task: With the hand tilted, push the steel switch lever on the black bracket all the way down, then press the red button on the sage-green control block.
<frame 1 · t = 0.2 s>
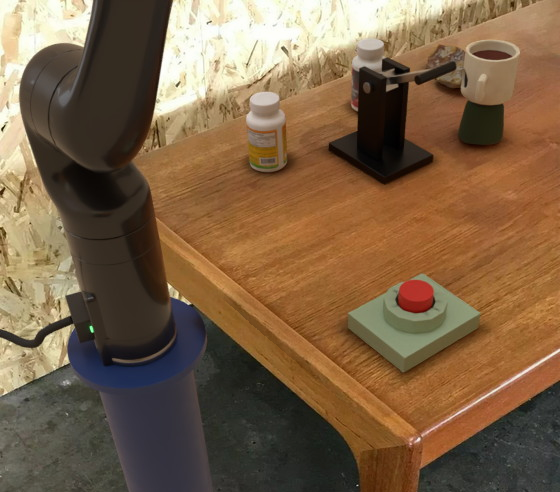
switch bracket: (379, 156, 112), on the table
pill bottle: (368, 107, 123), on the table
start button: (415, 296, 84), point 4 cm above the table, slide at 0.1 cm
supplement bottle: (268, 164, 112), on the table
switch lever: (406, 77, 101), point 13 cm above the table, hinge at 25.0°
button block: (412, 328, 87), on the table
character mug: (479, 140, 115), on the table
decorative stone: (457, 80, 128), on the table
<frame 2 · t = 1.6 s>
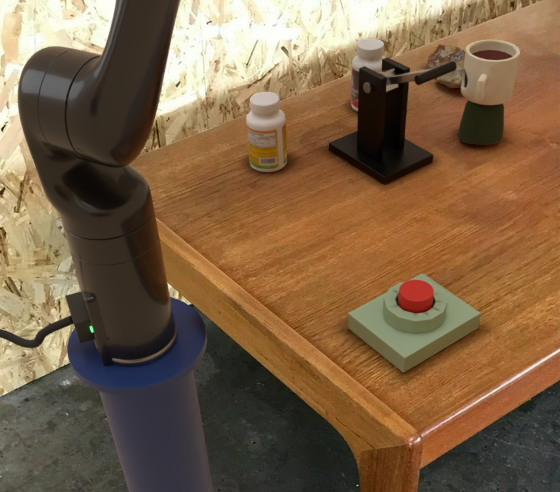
nothing on the table moved.
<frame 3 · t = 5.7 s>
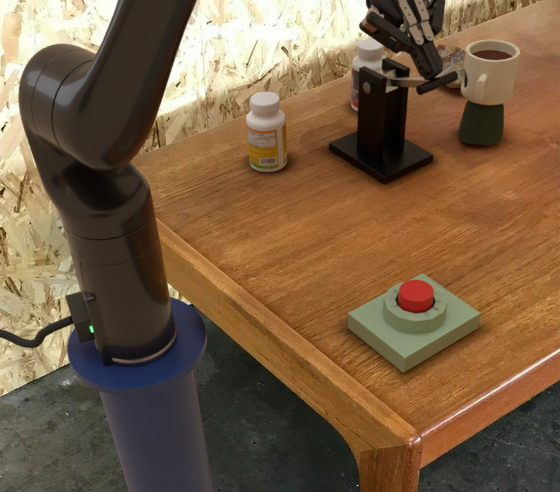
hand: (434, 75, 97), 15 cm above the table, tool tilted 45°, fingers closed
switch lever: (407, 82, 101), point 12 cm above the table, hinge at 18.1°, touching gripper
everything else where it was.
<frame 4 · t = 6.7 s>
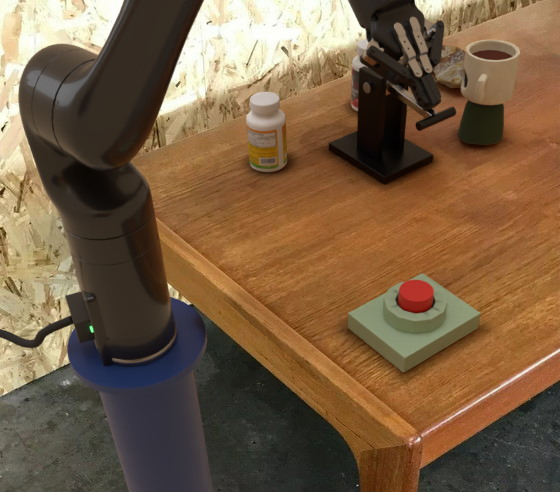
hand: (433, 106, 99), 11 cm above the table, tool tilted 45°, fingers closed
switch lever: (407, 98, 102), point 10 cm above the table, hinge at -8.2°, touching gripper
everything else where it was.
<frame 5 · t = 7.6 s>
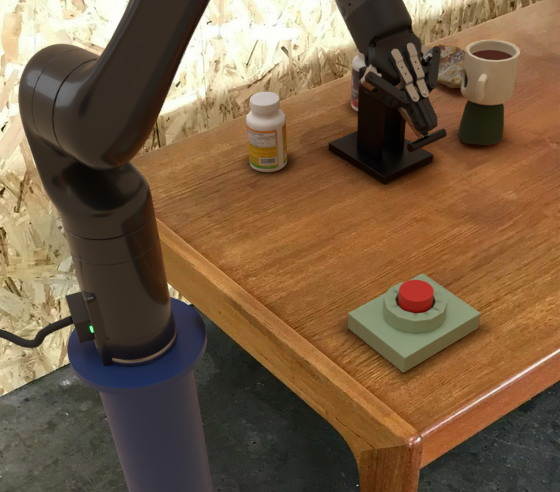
hand: (429, 130, 102), 8 cm above the table, tool tilted 45°, fingers closed
switch lever: (403, 108, 104), point 9 cm above the table, hinge at -29.2°, touching gripper
everything else where it was.
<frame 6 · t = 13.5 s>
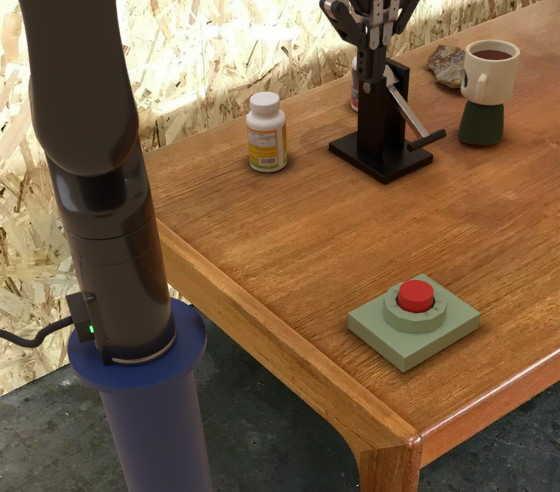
hand: (370, 80, 83), 21 cm above the table, tool pointing down, fingers closed
switch lever: (403, 108, 104), point 9 cm above the table, hinge at -29.5°
everything else where it was.
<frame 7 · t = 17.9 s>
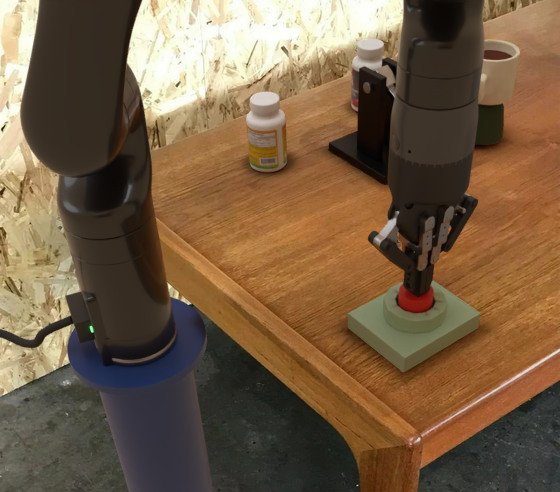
hand: (417, 290, 83), 5 cm above the table, tool pointing down, fingers closed
start button: (415, 296, 84), point 4 cm above the table, slide at 0.0 cm, touching gripper
everything else where it was.
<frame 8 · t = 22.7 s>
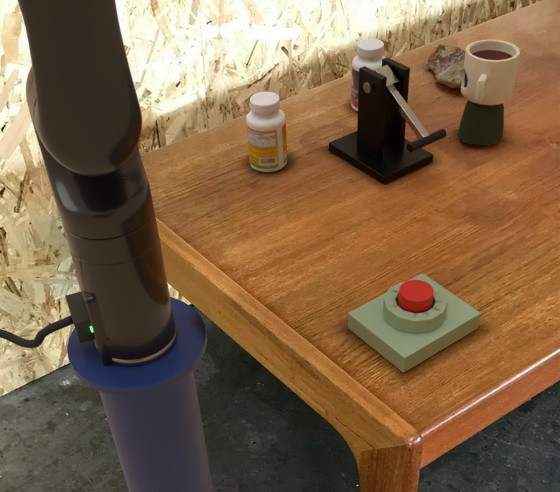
start button: (415, 296, 84), point 4 cm above the table, slide at 0.1 cm
everything else where it was.
at the end: switch lever at -30° (first picture: +25°); start button pushed in 1.1 cm at the most during the clip, back to where it started at the end; start button slide at 0.1 cm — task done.
